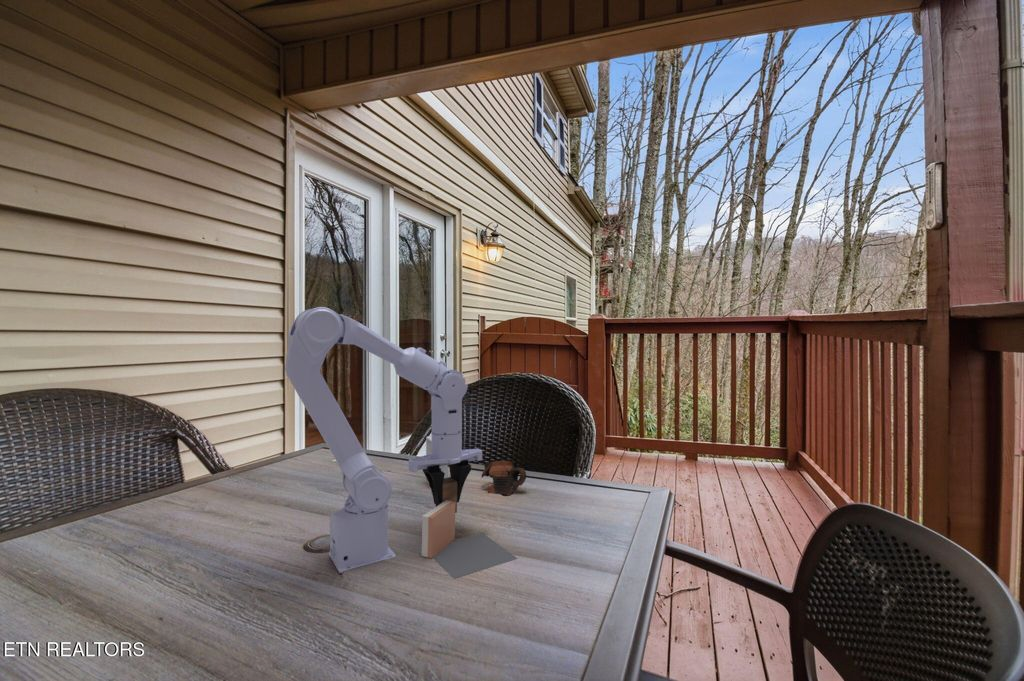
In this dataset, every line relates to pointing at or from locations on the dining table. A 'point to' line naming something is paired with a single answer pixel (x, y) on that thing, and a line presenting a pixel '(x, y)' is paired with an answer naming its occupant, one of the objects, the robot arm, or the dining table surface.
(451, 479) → the walnut block
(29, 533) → the dining table surface
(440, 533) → the whetstone
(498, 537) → the dining table surface
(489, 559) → the mat
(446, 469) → the skincare box
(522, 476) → the pottery mug
